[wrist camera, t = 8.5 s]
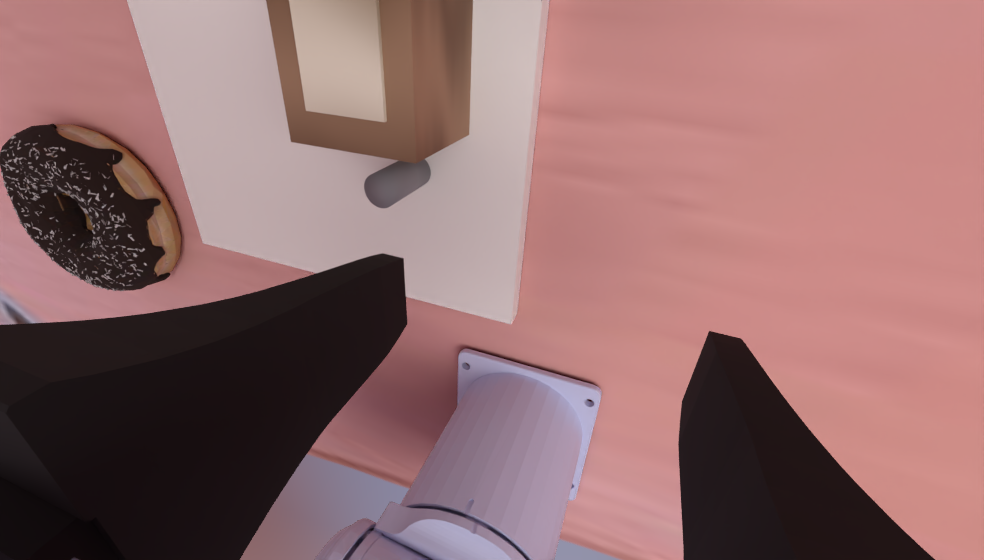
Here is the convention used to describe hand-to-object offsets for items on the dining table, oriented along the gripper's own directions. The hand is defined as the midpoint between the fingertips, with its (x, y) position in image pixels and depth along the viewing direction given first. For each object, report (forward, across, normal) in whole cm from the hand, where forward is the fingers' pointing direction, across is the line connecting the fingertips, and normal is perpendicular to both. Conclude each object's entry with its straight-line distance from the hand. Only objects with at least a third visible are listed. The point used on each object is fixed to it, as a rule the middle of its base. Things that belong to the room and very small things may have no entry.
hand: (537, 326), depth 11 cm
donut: (+10, +31, +6) cm, 33 cm away
